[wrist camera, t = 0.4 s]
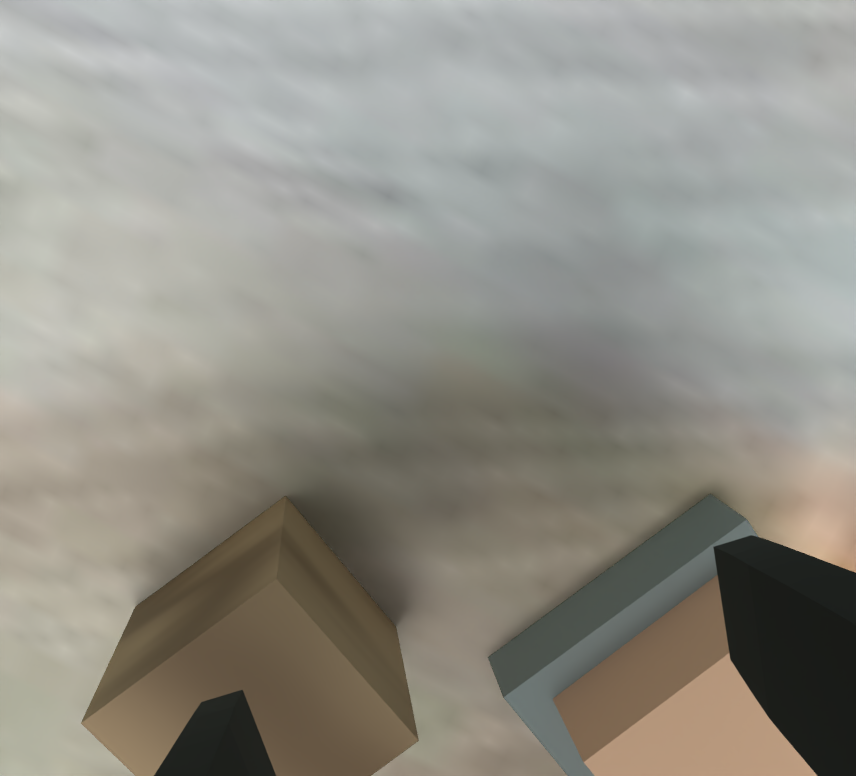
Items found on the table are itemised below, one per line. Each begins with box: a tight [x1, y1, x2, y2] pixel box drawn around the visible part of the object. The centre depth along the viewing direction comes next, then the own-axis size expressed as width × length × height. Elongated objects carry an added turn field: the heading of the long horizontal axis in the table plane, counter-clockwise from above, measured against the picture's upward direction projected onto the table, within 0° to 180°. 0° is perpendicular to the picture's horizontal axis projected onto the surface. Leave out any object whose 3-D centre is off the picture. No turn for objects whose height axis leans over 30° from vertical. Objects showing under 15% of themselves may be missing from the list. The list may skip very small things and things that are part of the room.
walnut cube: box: [81, 496, 419, 776], centre depth 19 cm, size 5×5×5 cm
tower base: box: [488, 494, 758, 776], centre depth 23 cm, size 8×8×2 cm
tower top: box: [553, 575, 817, 776], centre depth 20 cm, size 6×6×2 cm
